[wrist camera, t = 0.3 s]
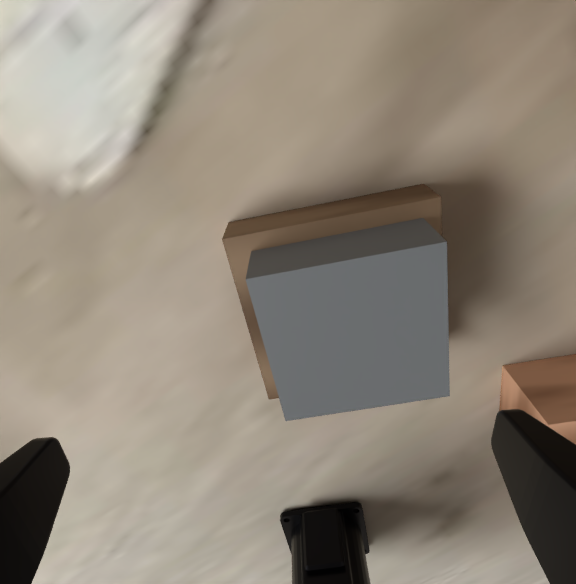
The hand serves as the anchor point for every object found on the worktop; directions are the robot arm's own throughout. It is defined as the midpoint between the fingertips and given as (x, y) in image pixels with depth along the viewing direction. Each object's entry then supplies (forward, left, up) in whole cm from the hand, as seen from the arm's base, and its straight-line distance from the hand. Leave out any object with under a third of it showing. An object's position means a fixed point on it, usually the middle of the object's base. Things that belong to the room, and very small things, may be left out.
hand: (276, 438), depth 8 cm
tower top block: (-4, -3, -12) cm, 13 cm away
